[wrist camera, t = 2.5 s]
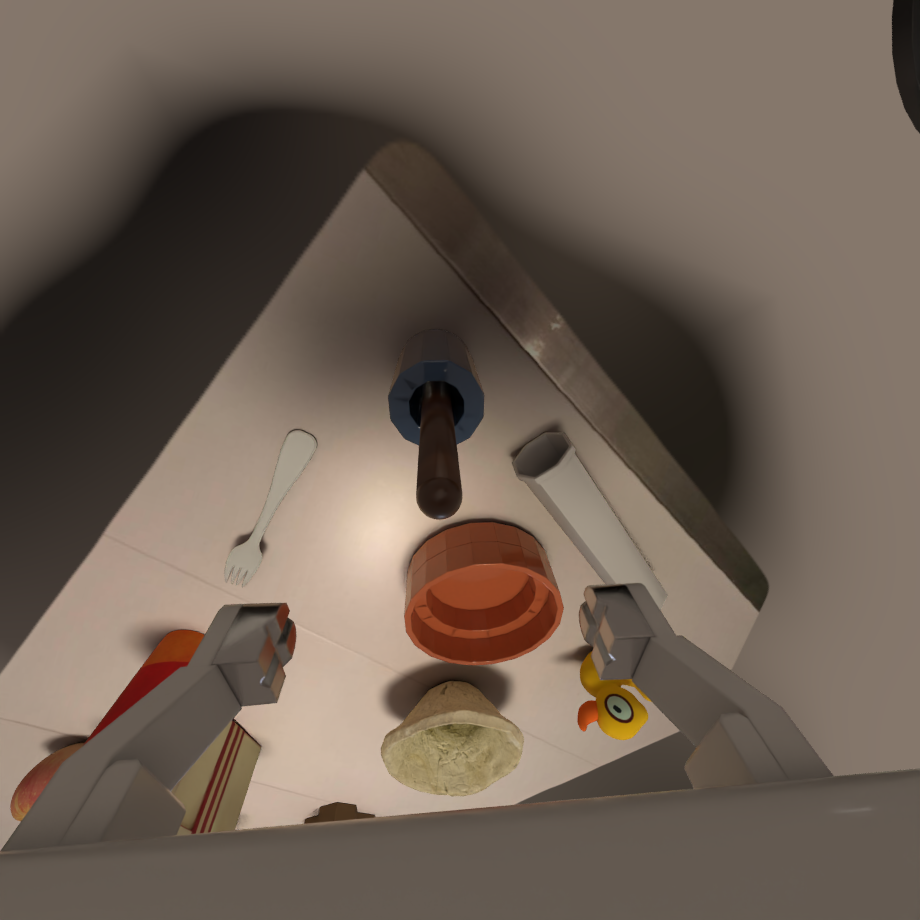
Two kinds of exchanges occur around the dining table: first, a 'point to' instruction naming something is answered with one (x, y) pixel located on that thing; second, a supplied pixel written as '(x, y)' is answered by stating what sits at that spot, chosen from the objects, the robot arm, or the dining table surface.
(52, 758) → the apple
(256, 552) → the fork
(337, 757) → the dining table surface
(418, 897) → the robot arm
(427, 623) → the orange round shallow dish
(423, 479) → the stirring stick
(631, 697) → the duckling
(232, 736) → the gift box
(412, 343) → the crock
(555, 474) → the tube
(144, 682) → the paper cup
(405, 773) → the bowl
